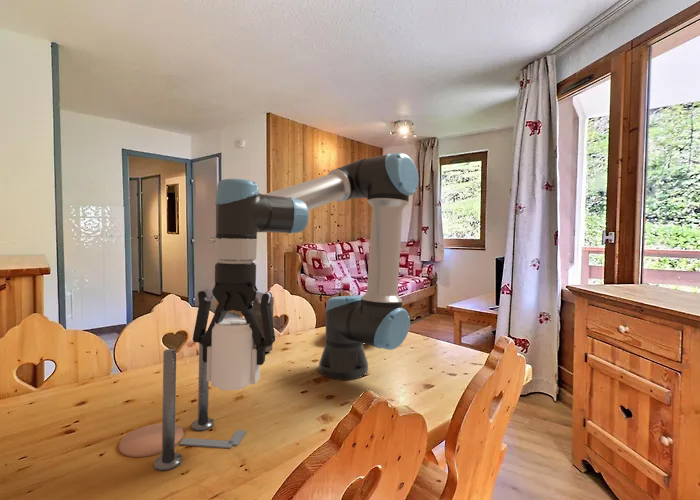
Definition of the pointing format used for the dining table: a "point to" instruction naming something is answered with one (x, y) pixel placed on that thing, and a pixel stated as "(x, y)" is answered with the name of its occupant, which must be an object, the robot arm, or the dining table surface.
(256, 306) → the candle
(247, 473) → the dining table surface
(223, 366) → the beverage can
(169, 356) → the gate posts
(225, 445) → the strip
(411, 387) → the dining table surface
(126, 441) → the pad
